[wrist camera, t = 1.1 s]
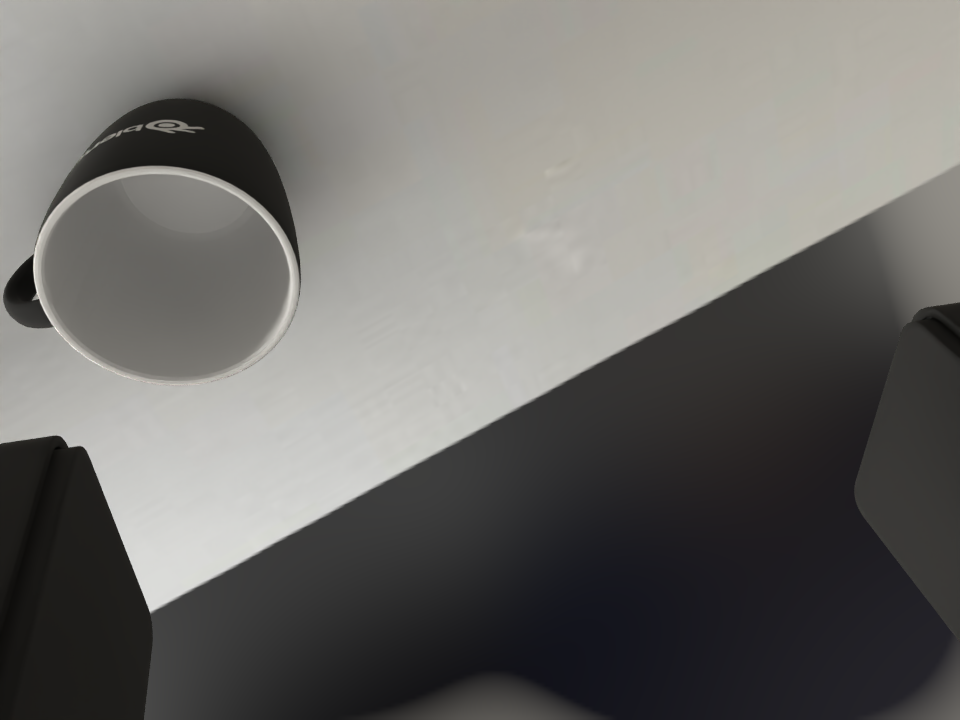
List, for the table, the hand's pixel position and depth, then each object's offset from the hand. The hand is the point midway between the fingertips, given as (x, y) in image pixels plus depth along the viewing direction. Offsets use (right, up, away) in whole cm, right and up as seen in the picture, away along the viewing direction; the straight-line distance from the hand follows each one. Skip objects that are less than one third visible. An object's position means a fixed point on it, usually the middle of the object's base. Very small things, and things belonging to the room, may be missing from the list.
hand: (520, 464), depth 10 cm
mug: (-15, +9, +29) cm, 34 cm away
